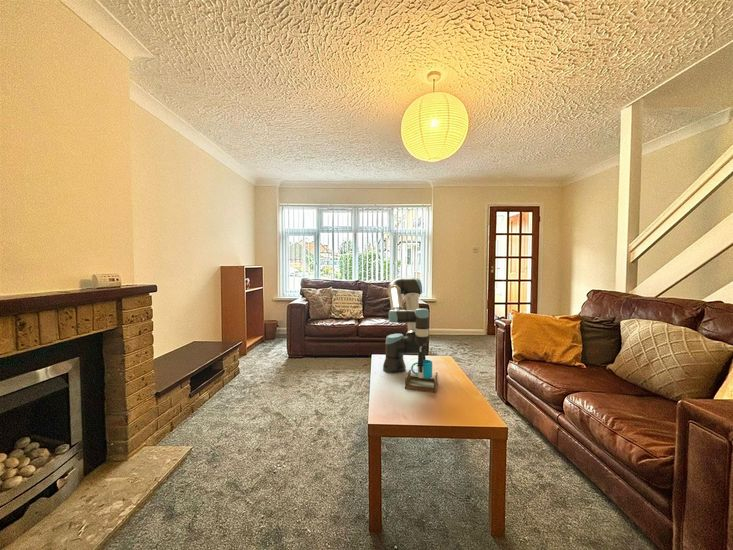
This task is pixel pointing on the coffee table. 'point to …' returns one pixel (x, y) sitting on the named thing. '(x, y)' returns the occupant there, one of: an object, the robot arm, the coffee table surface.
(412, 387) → the tray
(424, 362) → the mug
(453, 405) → the coffee table surface
